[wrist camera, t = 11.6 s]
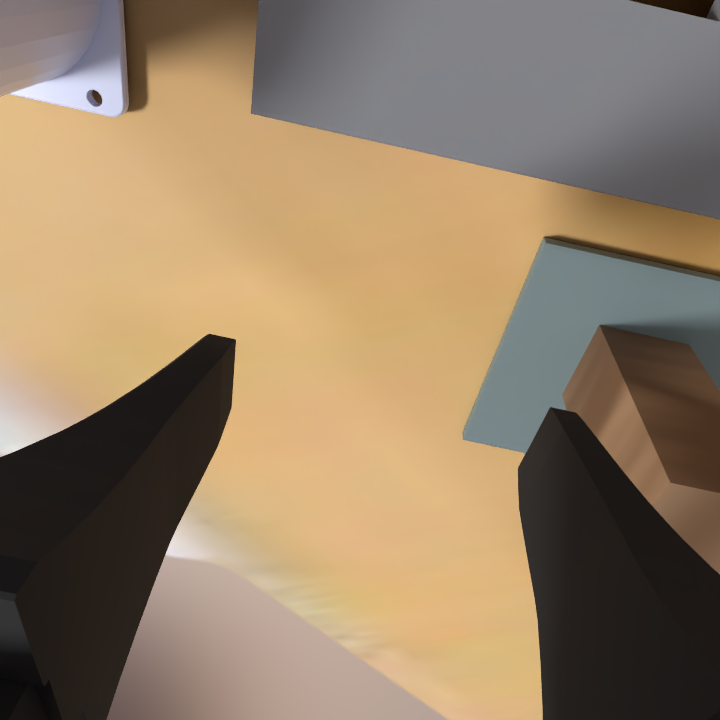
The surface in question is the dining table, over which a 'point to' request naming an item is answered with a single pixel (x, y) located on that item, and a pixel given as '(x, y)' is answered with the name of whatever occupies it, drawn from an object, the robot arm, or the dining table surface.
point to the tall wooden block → (656, 426)
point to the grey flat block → (509, 87)
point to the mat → (585, 331)
